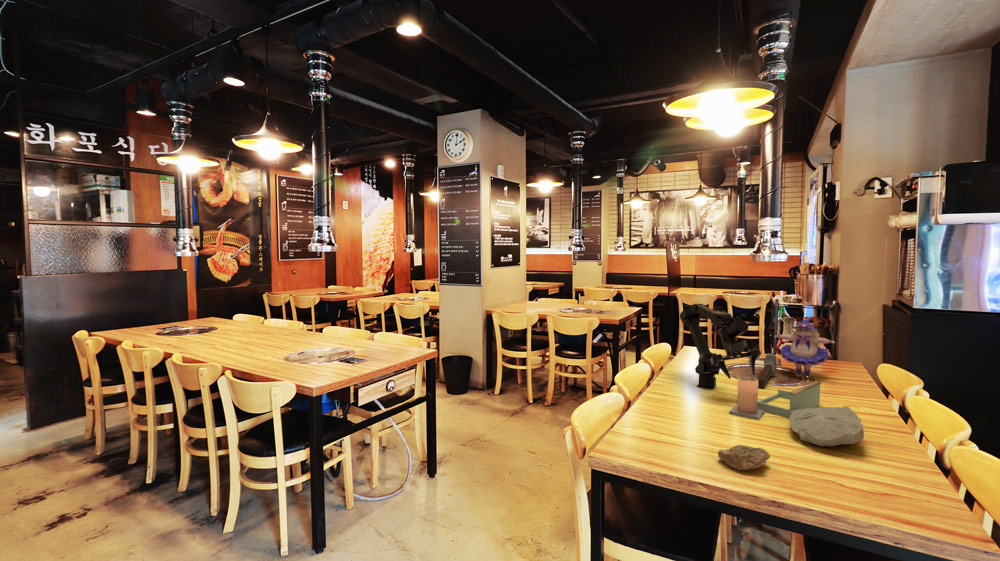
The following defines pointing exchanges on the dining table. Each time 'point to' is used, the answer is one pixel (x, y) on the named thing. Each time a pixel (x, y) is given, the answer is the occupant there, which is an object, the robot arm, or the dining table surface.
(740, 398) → the pink cup
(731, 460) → the rock
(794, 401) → the cold frame
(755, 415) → the metal tile
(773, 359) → the hammer
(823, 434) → the stone
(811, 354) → the toy
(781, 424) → the dining table surface
